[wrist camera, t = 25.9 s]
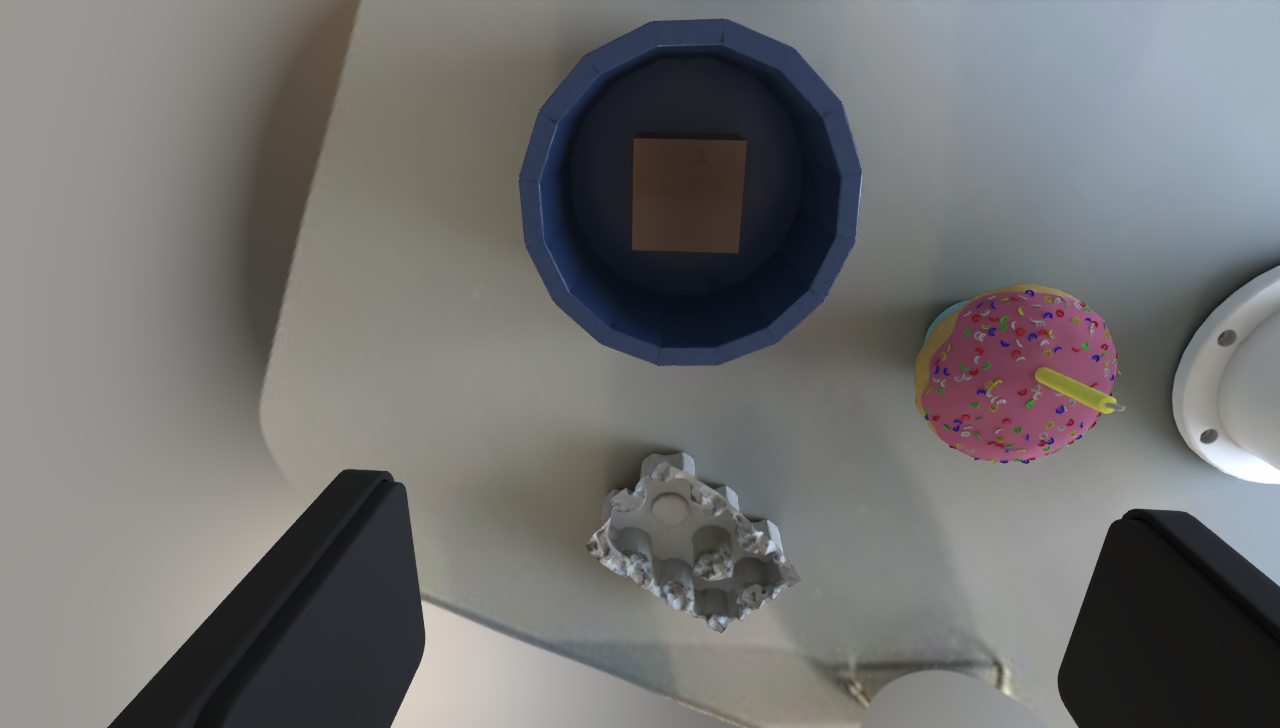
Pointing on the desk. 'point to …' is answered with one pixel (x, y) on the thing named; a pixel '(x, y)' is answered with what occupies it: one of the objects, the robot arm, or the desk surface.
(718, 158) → the block
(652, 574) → the egg carton
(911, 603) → the desk surface
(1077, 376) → the cupcake
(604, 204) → the blue bowl
